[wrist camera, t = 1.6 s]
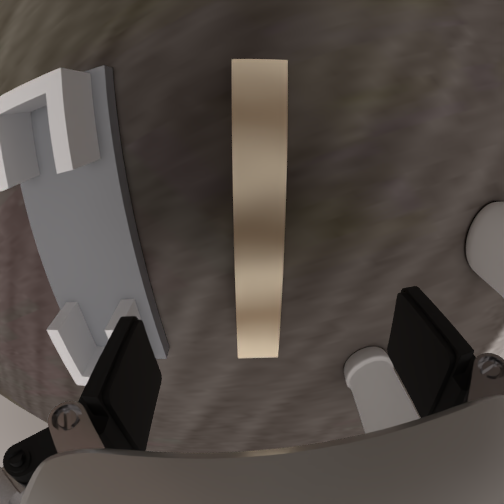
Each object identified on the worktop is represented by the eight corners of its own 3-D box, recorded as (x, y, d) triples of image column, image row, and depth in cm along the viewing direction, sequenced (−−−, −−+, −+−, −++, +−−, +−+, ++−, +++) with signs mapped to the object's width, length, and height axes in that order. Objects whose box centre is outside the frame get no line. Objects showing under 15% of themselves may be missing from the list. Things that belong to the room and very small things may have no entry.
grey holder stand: (19, 102, 17) (-25, 106, 12) (112, 67, 17) (76, 56, 12) (88, 347, 27) (68, 386, 22) (169, 347, 27) (158, 391, 22)
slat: (233, 71, 18) (231, 59, 14) (277, 71, 18) (287, 60, 14) (237, 322, 27) (238, 358, 22) (272, 321, 27) (277, 356, 23)
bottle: (350, 386, 31) (412, 593, 8) (334, 360, 29) (404, 603, 6) (392, 364, 30) (476, 564, 7) (380, 336, 28) (483, 569, 5)
